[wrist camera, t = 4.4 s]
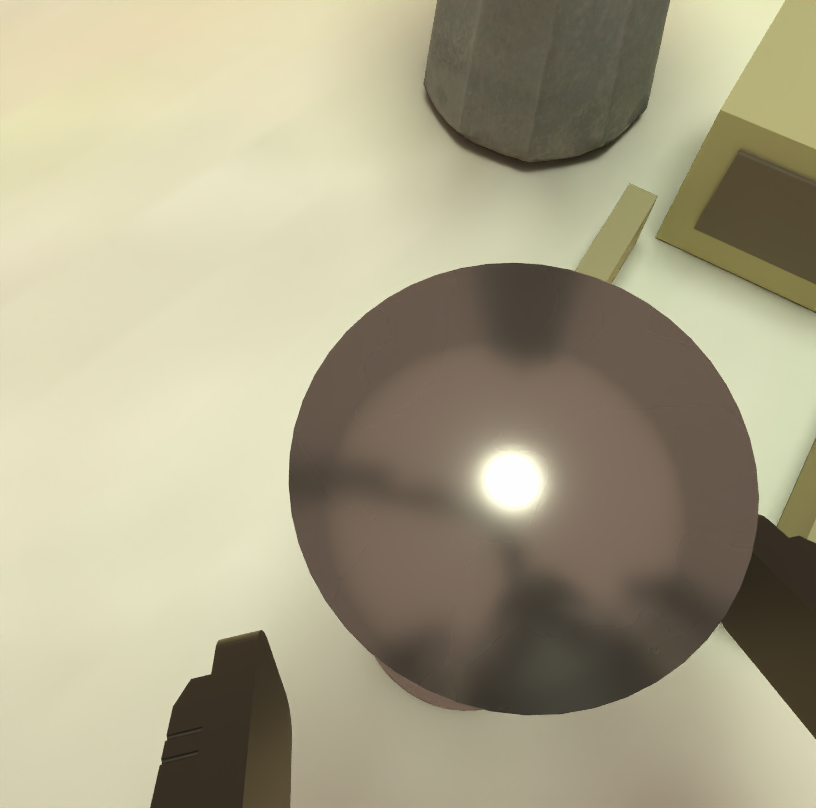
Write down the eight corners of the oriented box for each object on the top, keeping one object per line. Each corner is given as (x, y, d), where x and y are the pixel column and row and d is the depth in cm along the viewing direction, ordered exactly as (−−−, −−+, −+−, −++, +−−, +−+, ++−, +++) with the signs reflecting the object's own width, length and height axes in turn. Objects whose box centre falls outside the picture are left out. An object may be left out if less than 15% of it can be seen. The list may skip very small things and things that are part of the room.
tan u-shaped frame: (767, 644, 20) (900, 631, 14) (464, 467, 22) (475, 395, 16) (941, 228, 25) (1091, 97, 19) (679, 117, 27) (745, -30, 21)
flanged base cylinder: (501, 754, 19) (660, 926, 6) (321, 632, 20) (127, 551, 7) (600, 565, 21) (887, 377, 8) (429, 464, 22) (427, 156, 9)
